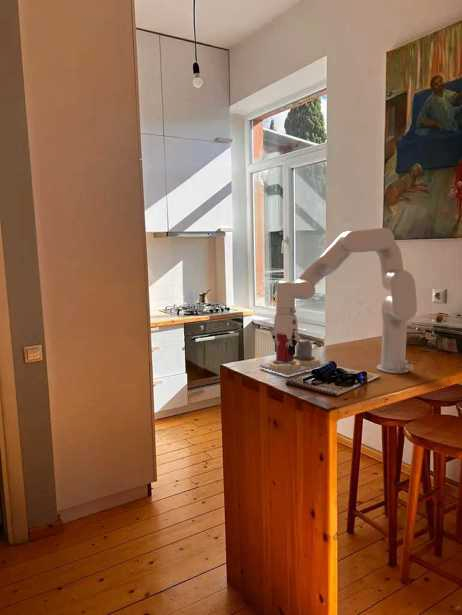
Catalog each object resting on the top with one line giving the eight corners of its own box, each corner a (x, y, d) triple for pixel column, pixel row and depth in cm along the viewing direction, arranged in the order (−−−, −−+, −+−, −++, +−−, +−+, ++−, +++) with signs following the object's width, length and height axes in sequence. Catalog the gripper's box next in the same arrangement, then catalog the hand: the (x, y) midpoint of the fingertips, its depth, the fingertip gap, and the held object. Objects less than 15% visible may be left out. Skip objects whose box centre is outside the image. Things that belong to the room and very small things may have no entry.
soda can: (273, 361, 189) (273, 333, 187) (279, 358, 195) (280, 330, 194) (290, 364, 186) (290, 335, 184) (296, 360, 192) (296, 331, 190)
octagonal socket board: (328, 367, 197) (328, 359, 196) (287, 377, 181) (287, 369, 180) (300, 359, 209) (300, 352, 208) (259, 369, 193) (260, 361, 193)
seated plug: (314, 361, 198) (315, 341, 197) (304, 364, 194) (304, 343, 192) (303, 358, 203) (303, 338, 202) (293, 361, 199) (293, 340, 198)
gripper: (307, 312, 183) (306, 355, 186) (276, 308, 197) (276, 348, 199) (294, 314, 179) (294, 358, 181) (264, 309, 192) (263, 350, 194)
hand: (284, 353), depth 190 cm, fingers closed on soda can, 7 cm apart
